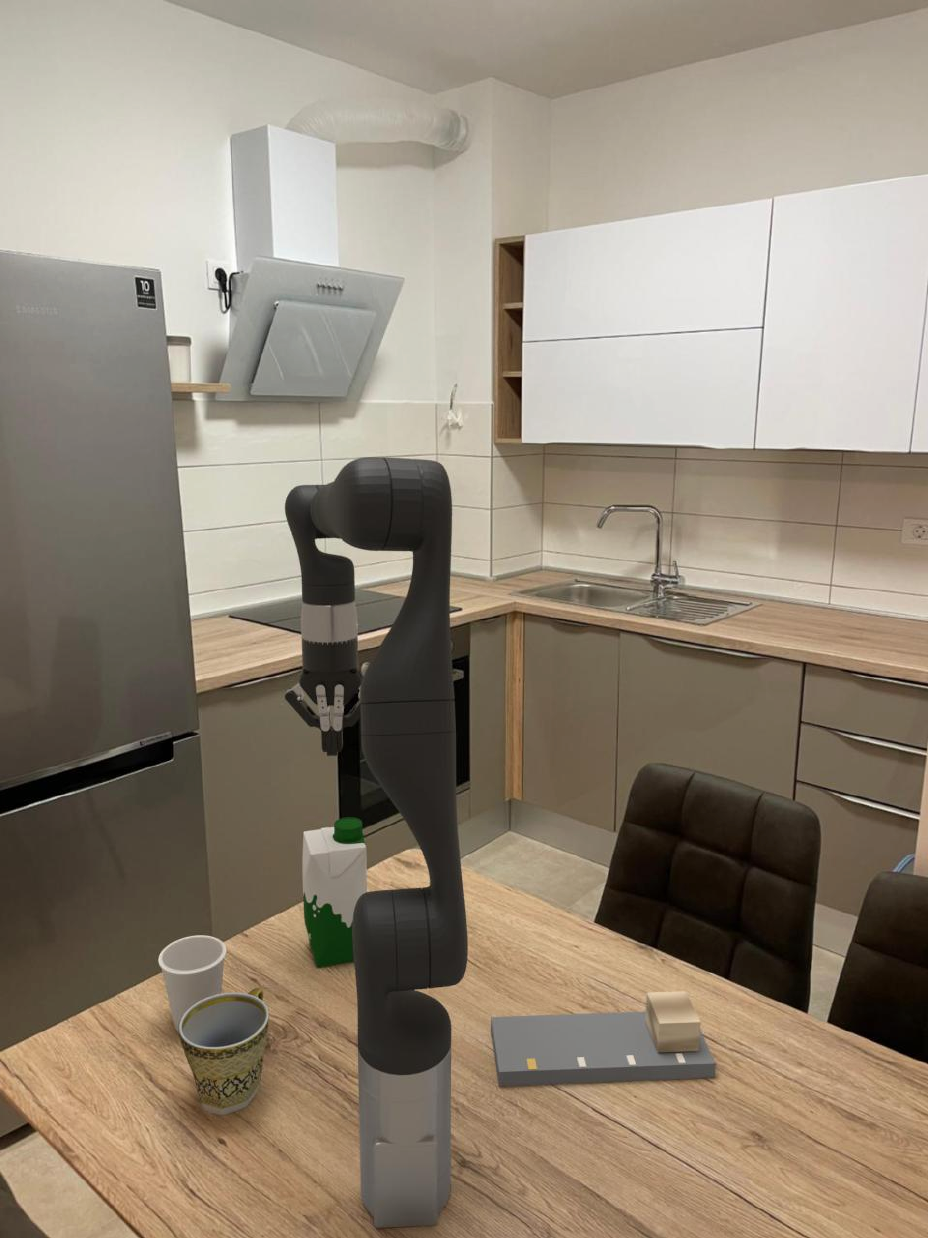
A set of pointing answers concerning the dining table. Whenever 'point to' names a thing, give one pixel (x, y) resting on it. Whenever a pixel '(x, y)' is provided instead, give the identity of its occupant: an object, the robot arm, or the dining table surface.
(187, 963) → the dixie cup
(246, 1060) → the ceramic cup
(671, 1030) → the knob
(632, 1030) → the board
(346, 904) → the soya milk
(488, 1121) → the dining table surface
